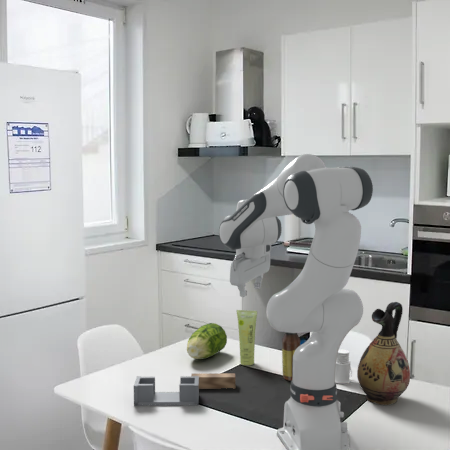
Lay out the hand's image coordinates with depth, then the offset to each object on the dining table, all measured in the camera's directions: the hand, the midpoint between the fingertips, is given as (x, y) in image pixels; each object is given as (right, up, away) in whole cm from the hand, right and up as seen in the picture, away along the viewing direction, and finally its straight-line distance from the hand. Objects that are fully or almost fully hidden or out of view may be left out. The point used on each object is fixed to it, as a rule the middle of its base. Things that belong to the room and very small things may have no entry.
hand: (250, 292), depth 194 cm
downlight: (+30, -30, +8) cm, 43 cm away
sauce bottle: (+14, -30, +10) cm, 35 cm away
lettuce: (-16, -28, +31) cm, 44 cm away
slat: (-12, -31, +2) cm, 33 cm away
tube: (0, -28, +25) cm, 37 cm away
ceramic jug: (+40, -32, -7) cm, 52 cm away
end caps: (-26, -32, -9) cm, 42 cm away
